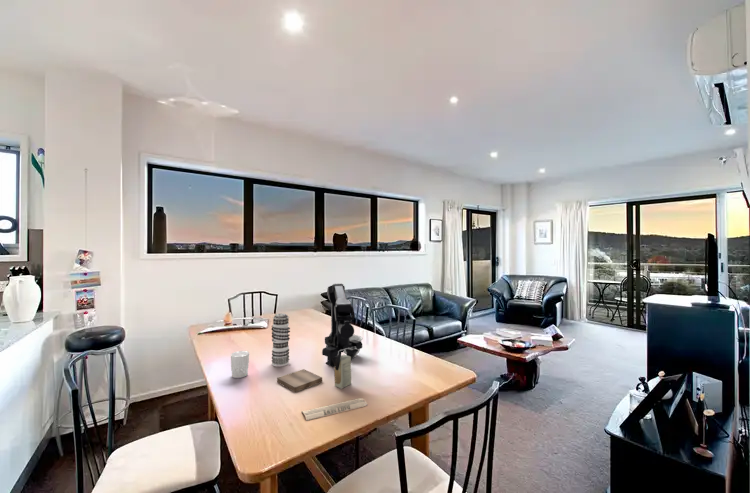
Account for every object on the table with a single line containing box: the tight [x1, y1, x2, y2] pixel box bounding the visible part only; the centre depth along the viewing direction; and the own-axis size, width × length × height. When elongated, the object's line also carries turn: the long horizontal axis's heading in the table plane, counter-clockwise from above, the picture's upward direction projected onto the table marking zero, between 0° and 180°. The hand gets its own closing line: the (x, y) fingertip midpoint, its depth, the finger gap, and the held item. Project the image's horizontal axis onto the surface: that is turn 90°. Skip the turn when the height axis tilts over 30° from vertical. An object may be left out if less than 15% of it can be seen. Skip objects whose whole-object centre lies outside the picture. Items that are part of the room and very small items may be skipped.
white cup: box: [230, 350, 250, 379], centre depth 149 cm, size 8×8×10 cm
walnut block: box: [276, 368, 323, 393], centre depth 142 cm, size 14×14×2 cm
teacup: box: [343, 334, 363, 358], centre depth 178 cm, size 12×15×10 cm
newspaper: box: [301, 397, 368, 421], centre depth 119 cm, size 24×7×2 cm, turn 118°
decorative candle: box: [270, 313, 291, 367], centre depth 165 cm, size 9×9×25 cm
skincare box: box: [334, 354, 352, 389], centre depth 140 cm, size 6×4×12 cm
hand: (342, 367), depth 140 cm, fingers closed on skincare box, 6 cm apart
